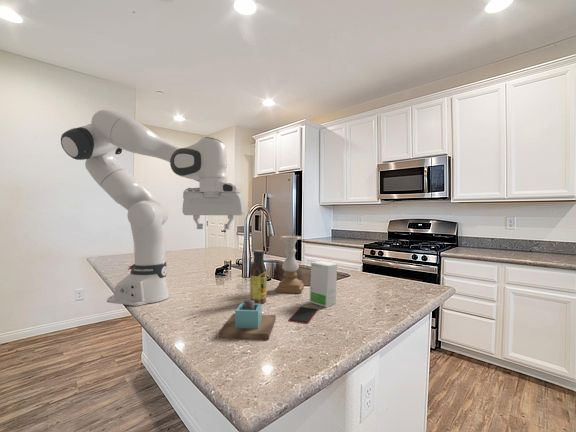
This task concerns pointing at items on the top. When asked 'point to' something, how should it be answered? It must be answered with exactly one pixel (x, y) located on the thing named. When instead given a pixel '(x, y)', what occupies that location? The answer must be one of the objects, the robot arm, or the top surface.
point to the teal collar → (248, 317)
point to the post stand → (249, 333)
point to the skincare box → (323, 283)
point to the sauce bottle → (258, 278)
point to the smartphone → (303, 315)
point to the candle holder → (290, 268)
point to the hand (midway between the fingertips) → (213, 229)
